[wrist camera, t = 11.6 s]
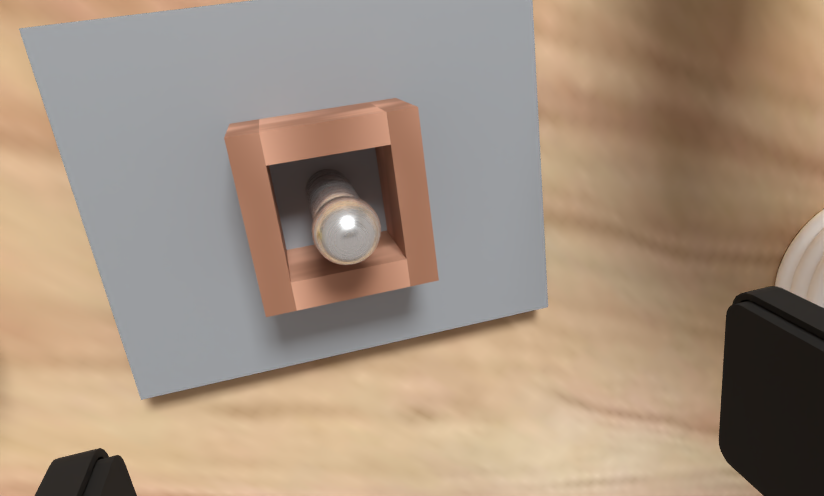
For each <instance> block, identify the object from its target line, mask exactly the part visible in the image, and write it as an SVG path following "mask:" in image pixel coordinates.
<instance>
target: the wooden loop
mask: <svg viewBox="0 0 824 496" xmlns="http://www.w3.org/2000/svg"><path fill="white" fill-rule="evenodd" d="M224 140H225V144H226V148H227V153H228V157H229V161H230V165H231V170H232V174H233V178H234V183H235V187H236V191H237V195H238V200H239V204H240V208H241V213H242V217H243V221H244V225H245V230H246V234H247V238H248V243H249V247H250V251H251V255H252V260H253V264H254V268H255V273H256V277H257V281H258V285H259V290H260V294H261V298H262V303H263V307H264V311H265V315H266V317H270V316H275V315H279V314H284V313H289V312H293V311H298V310H303V309H307V308H312V307H317V306H321V305H326V304H331V303H335V302H340V301H345V300H350V299H354V298H359V297H364V296H368V295H373V294H378V293H382V292H387V291H392V290H396V289H401V288H406V287H411V286H415V285H420V284H425V283H429V282H434V281H439V277H438V269H437V260H436V252H435V244H434V235H433V227H432V219H431V210H430V202H429V194H428V185H427V177H426V169H425V160H424V152H423V144H422V135H421V127H420V119H419V110H418V107H417V106H415V105H412V104H410V103H407V102H405V101H402V100H400V99H397V98H392V99H385V100H379V101H372V102H366V103H360V104H353V105H347V106H340V107H334V108H327V109H321V110H315V111H308V112H302V113H295V114H289V115H283V116H276V117H270V118H263V119H257V120H251V121H244V122H238V123H231V124H229V126H228V129H227V132H226V134H225V137H224ZM374 147H375V151H376V158H377V164H378V171H379V178H380V185H381V191H382V198H383V205H384V212H385V218H386V225H387V231H382V232H381V237H380V241H379V244H378V246H377V248H376V249H375V251H374V252H373V253H372V254H371V255H370V256H369V257H368V258H367V259H365V260H364V261H362V262H359V263H357V264H352V265H340V264H336V263H333V262H331V261H329V260H328V259H326V258H325V257H324V256H322V255H321V254H320V252H319V251H318V250H317V248H316V246H315V245H310V246H305V247H300V248H294V249H289V250H287V249H286V244H285V239H284V235H283V230H282V225H281V221H280V216H279V211H278V206H277V202H276V197H275V192H274V187H273V183H272V178H271V173H270V168H269V165H273V164H279V163H285V162H291V161H297V160H303V159H309V158H315V157H321V156H327V155H332V154H338V153H344V152H350V151H356V150H362V149H368V148H374Z"/></svg>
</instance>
